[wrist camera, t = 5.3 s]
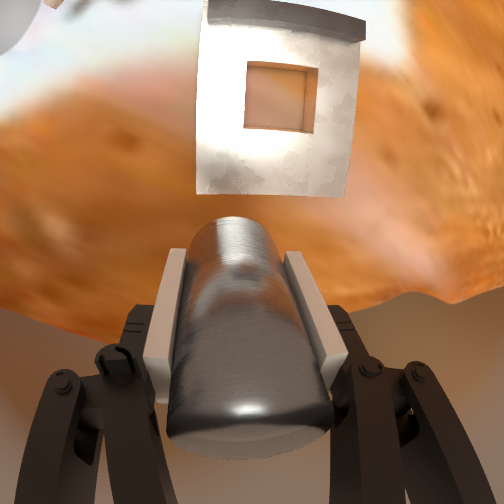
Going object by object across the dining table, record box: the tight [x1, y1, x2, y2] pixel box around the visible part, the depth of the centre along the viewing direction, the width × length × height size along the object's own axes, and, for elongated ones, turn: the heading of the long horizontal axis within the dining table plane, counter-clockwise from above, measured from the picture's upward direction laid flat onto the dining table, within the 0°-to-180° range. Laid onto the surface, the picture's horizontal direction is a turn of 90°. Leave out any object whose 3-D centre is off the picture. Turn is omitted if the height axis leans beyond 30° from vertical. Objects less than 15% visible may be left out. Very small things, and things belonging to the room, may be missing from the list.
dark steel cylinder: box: [166, 217, 335, 460], centre depth 11 cm, size 5×5×10 cm
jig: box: [196, 0, 366, 198], centre depth 22 cm, size 14×18×6 cm
